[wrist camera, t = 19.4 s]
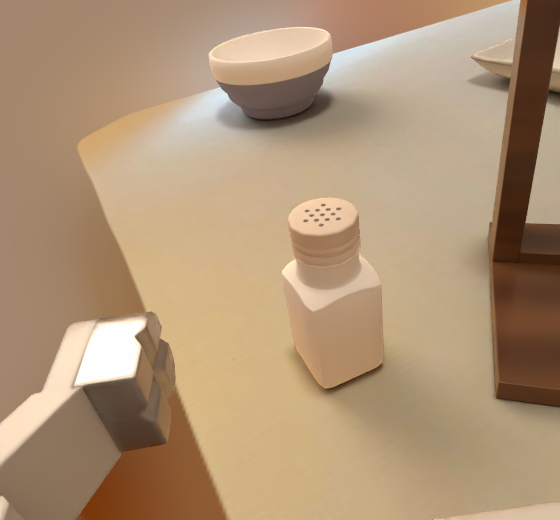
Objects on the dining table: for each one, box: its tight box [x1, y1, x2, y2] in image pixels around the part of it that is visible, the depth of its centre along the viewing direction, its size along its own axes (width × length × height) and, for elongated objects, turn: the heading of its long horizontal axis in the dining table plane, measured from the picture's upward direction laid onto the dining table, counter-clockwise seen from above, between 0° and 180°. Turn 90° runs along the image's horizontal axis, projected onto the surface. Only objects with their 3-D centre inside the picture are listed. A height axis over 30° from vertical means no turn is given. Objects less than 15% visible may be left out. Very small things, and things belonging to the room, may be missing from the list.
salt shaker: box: [282, 198, 384, 389], centre depth 25 cm, size 4×4×10 cm
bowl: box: [209, 27, 332, 120], centre depth 59 cm, size 14×14×8 cm
